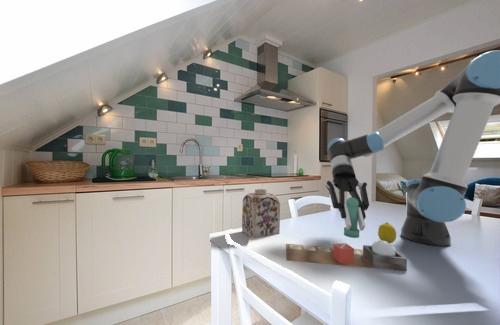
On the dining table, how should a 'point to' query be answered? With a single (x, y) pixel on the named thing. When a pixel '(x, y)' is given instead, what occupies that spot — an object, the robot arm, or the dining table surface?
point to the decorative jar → (260, 214)
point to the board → (360, 260)
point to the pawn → (352, 218)
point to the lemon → (387, 233)
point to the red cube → (343, 253)
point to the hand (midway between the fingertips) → (355, 227)
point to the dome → (383, 248)
